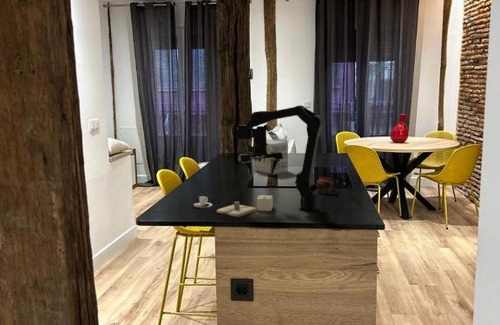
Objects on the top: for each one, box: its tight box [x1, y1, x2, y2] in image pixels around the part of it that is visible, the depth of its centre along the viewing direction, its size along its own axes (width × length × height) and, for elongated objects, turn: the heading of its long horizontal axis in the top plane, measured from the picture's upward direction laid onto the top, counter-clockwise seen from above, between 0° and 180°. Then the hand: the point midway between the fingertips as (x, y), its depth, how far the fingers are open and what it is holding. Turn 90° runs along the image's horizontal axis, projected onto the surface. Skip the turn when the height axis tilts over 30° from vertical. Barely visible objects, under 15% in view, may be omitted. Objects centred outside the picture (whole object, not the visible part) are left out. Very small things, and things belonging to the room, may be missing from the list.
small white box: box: [256, 194, 274, 212], centre depth 197 cm, size 6×6×5 cm
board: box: [216, 201, 258, 218], centre depth 194 cm, size 12×12×4 cm
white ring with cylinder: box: [193, 195, 213, 208], centre depth 205 cm, size 9×8×4 cm
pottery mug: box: [315, 176, 335, 195], centre depth 225 cm, size 12×10×8 cm
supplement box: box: [253, 139, 289, 175], centre depth 278 cm, size 17×13×18 cm
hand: (261, 176), depth 202 cm, fingers open, 9 cm apart
